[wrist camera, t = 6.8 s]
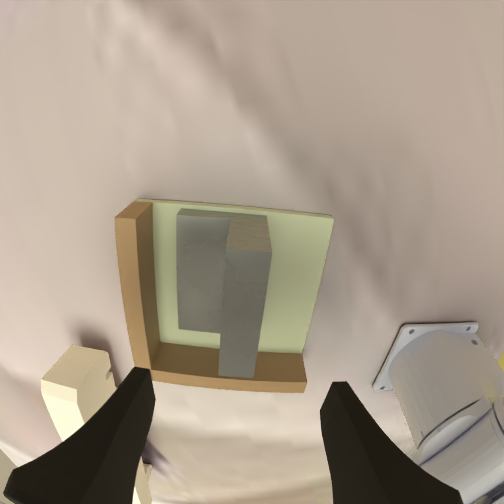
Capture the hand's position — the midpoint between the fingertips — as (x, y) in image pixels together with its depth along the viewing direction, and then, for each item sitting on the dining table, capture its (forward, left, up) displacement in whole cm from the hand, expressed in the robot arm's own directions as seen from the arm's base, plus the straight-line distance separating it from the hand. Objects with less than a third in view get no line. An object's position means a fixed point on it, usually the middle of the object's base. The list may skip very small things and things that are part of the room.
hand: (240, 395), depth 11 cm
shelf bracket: (+12, +20, -10) cm, 26 cm away
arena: (+1, +1, -10) cm, 10 cm away
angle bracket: (+2, 0, -9) cm, 9 cm away
